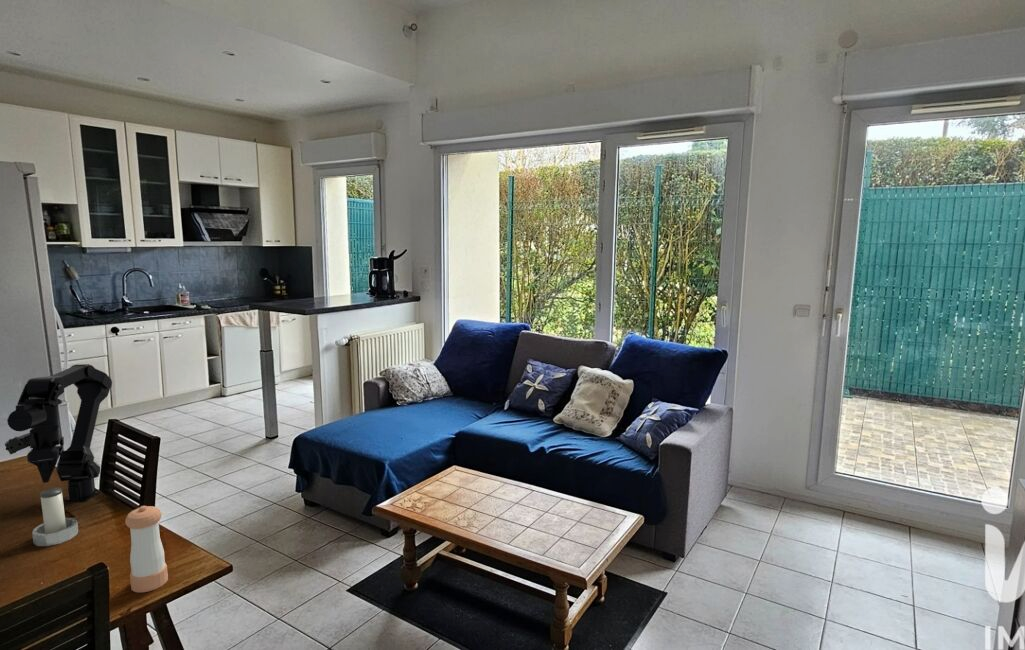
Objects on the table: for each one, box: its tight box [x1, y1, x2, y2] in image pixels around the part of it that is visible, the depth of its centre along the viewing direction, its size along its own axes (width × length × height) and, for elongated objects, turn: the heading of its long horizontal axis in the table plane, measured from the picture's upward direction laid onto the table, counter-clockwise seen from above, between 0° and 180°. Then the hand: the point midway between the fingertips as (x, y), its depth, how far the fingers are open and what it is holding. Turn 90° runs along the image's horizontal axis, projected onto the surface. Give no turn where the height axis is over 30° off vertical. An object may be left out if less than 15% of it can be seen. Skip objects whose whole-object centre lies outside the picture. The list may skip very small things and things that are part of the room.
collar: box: [31, 517, 79, 547], centre depth 150 cm, size 9×9×3 cm
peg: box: [39, 487, 66, 534], centre depth 149 cm, size 4×4×13 cm
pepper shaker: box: [124, 505, 169, 593], centre depth 130 cm, size 7×7×19 cm
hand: (48, 477), depth 156 cm, fingers open, 9 cm apart
